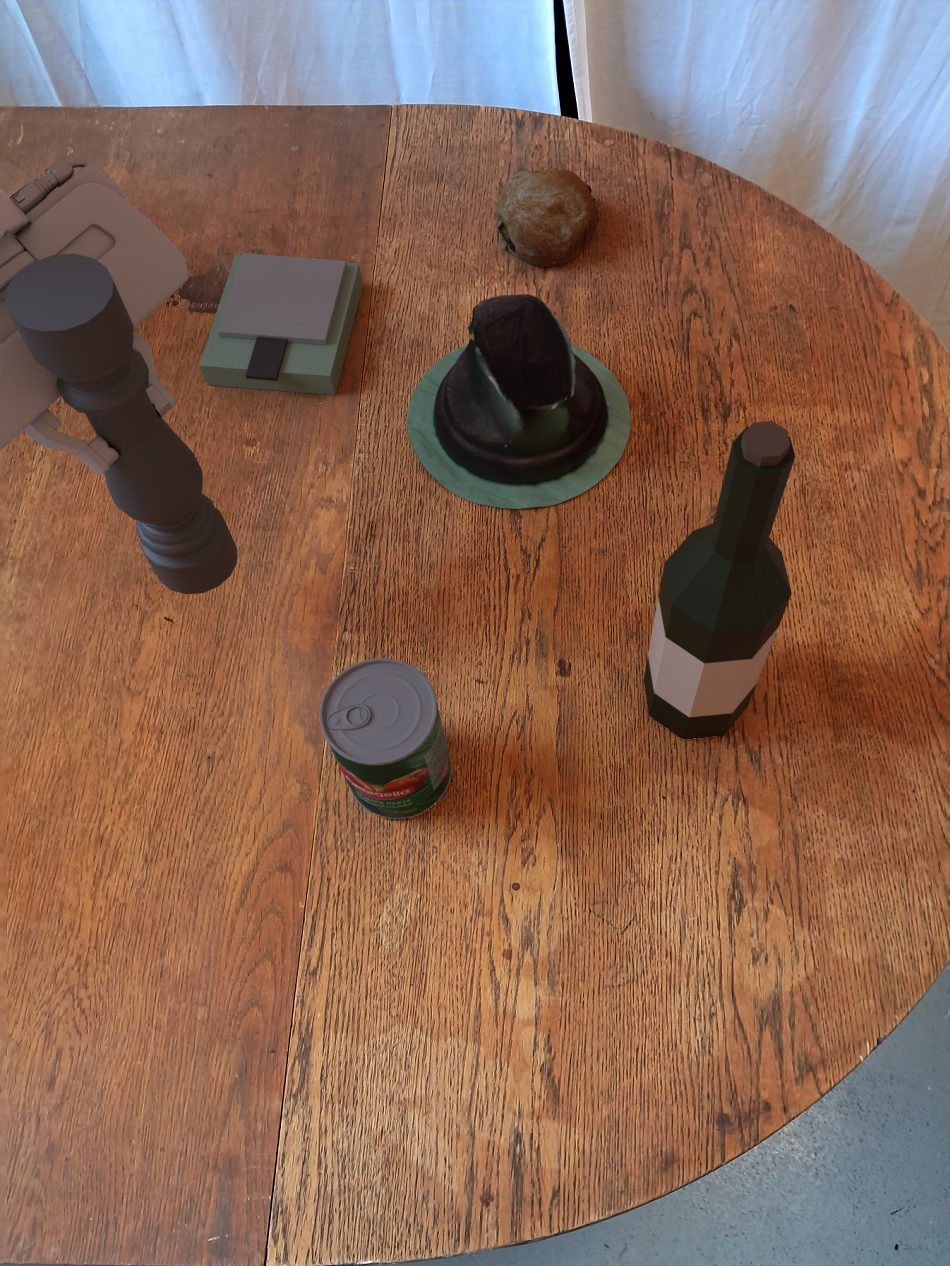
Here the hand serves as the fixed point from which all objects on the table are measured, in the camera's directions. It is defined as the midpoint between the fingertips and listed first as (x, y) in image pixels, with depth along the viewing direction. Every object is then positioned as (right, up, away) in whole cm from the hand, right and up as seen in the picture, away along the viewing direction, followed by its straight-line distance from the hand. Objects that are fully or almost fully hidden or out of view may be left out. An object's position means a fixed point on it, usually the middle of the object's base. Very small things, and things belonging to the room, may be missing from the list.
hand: (138, 439), depth 65 cm
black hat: (+23, +9, +29) cm, 38 cm away
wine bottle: (+37, -16, +17) cm, 44 cm away
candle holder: (-1, -6, +13) cm, 14 cm away
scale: (+1, +19, +33) cm, 38 cm away
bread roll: (+26, +31, +39) cm, 56 cm away
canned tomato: (+14, -22, +14) cm, 30 cm away
